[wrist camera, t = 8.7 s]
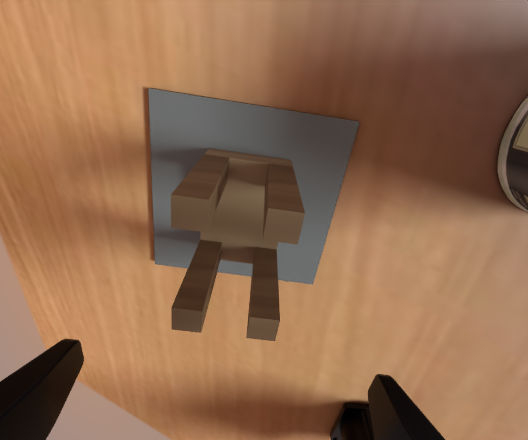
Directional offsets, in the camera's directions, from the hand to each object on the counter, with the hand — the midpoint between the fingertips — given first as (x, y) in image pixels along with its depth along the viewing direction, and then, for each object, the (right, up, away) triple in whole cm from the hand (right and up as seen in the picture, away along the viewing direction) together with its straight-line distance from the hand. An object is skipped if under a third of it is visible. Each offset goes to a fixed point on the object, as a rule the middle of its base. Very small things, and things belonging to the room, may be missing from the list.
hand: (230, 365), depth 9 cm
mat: (0, +6, +10) cm, 12 cm away
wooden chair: (0, +5, +10) cm, 11 cm away
